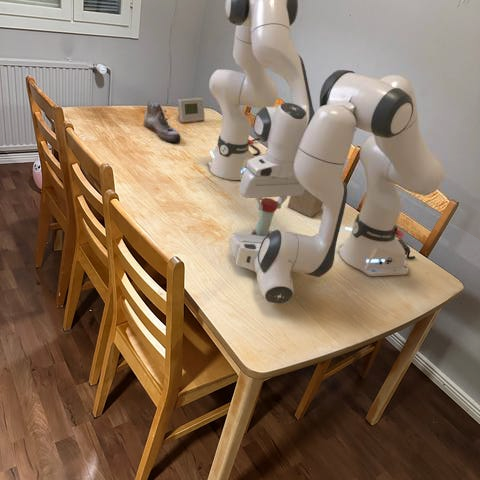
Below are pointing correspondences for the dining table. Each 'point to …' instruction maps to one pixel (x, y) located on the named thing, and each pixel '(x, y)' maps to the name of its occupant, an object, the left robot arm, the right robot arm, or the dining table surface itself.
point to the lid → (269, 205)
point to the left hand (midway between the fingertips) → (267, 208)
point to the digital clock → (191, 110)
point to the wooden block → (305, 203)
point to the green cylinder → (264, 223)
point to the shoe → (160, 123)
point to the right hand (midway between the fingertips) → (260, 232)
